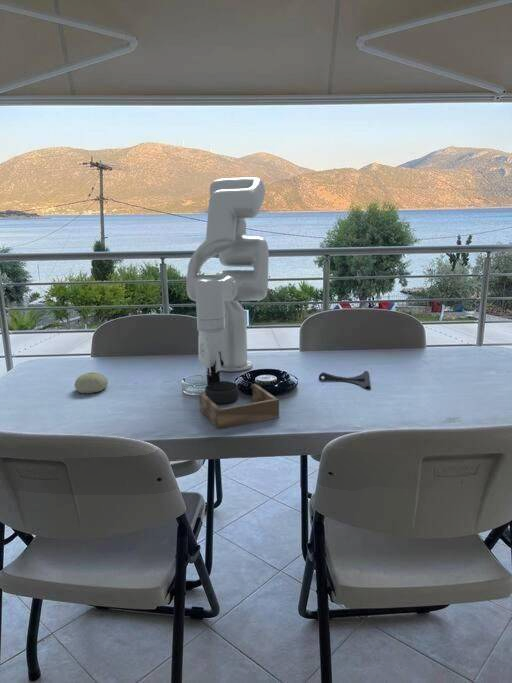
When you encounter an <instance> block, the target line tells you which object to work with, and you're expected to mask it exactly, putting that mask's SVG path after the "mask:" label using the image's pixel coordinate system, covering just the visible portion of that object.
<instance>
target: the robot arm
mask: <svg viewBox="0 0 512 683" xmlns="http://www.w3.org/2000/svg"><path fill="white" fill-rule="evenodd" d="M265 189H266V188H265V185H264V182H263V181H262V179H260V178H259V177H229V178H228V177H227V178H226V177H225V178H220V179H215V180H213V181H212V182H211V183H210V185H209V200H208V209H207V221H206V233H205V235H206V236H205V239H204V241H203V242H202V243H201V244H199V246H198V247H197V248H196V249H195V251H194V252H193V254H192V255H191V258H190V260H189V261H188V265H187V271H186V272H187V273H186V284H185V285H186V287H185V288H186V294H187V296H188V298H189V299H190V300H191V301H193V302H195V305H196V308H195V309H196V326H197V328H196V330H197V331H198V336H197V337H198V340H197V341H198V343H197V344H198V345H197V347H198V350H197V351H198V352H197V354H198V355H197V356H198V361H199V362H200V364H202V365H203V366H205V369H206V370H205V371H206V383H207V385H208V384H210V383H213V382H219V381H221V378H220V375H221V373H222V372H228V373H229V372H230V373H231V372H242V371H247V370H249V369H251V368H252V367H253V362H252V361H251V360H250V359H248V342H247V341H248V332H247V330H248V328H247V313H246V311H245V309H244V307H243V306H242V305H241V303H240V302H241V301H250V302H251V301H262V300H265V298H266V297H267V295H268V290H269V260H270V259H269V257H270V255H269V246H268V245H269V244H268V242H267V240H266V239H265V238H263V237H262V236H247V222H246V220H247V219H254V218H256V217H257V216H258V214H259V212H260V210H261V207H262V205H263V202H264V199H265V194H266V193H265V192H266V190H265ZM217 255H218V259H219V260H218V261H219V262H220V264H221V265H222V266H224V267H228V268H253V270H252V269H250V270H249V269H248V270H247V269H244V270H242V269H228V270H227V269H225V270H221V271H218V272H216V273H215V274H200V272H201V270H202V267H203V265H204V264H206V263H207V261H208V260H210V259H211V258H213V257H214V256H217ZM239 301H240V302H239ZM207 385H206V386H207Z"/></svg>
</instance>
